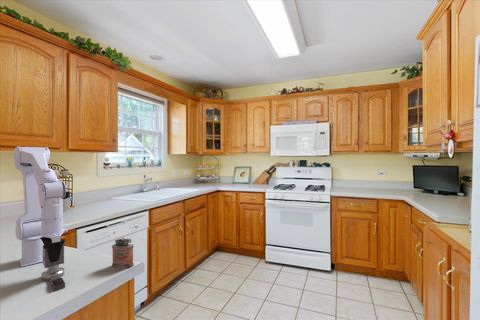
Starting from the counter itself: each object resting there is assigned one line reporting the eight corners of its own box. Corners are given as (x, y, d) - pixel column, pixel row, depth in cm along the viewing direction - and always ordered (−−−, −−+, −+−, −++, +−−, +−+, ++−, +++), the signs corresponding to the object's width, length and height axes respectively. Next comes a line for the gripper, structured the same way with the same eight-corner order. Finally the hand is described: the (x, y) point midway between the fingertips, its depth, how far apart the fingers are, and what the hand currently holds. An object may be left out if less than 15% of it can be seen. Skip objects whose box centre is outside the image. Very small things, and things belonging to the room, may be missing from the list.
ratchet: (40, 276, 80) (40, 264, 80) (62, 270, 84) (62, 258, 84) (46, 293, 69) (46, 279, 69) (71, 285, 73) (71, 272, 73)
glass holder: (73, 210, 190) (73, 191, 190) (55, 214, 176) (55, 194, 176) (64, 210, 192) (64, 191, 192) (46, 214, 178) (46, 193, 178)
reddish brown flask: (109, 267, 86) (109, 239, 86) (116, 263, 89) (115, 236, 89) (130, 268, 84) (129, 240, 84) (135, 264, 88) (135, 237, 88)
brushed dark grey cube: (42, 263, 80) (42, 245, 80) (61, 259, 83) (61, 241, 83) (44, 268, 76) (44, 249, 76) (64, 263, 80) (63, 245, 80)
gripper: (71, 219, 77) (72, 261, 77) (62, 213, 88) (63, 250, 88) (43, 223, 72) (44, 268, 72) (37, 216, 83) (38, 255, 83)
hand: (52, 259), depth 80 cm, fingers closed on brushed dark grey cube, 5 cm apart
